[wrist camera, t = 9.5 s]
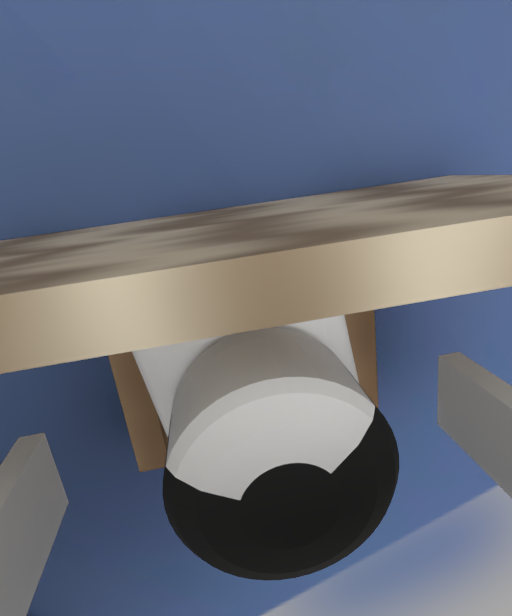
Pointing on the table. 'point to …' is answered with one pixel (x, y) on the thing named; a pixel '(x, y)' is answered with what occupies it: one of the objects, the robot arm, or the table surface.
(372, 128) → the table surface
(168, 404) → the container
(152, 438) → the cleat board
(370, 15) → the table surface
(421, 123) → the table surface
